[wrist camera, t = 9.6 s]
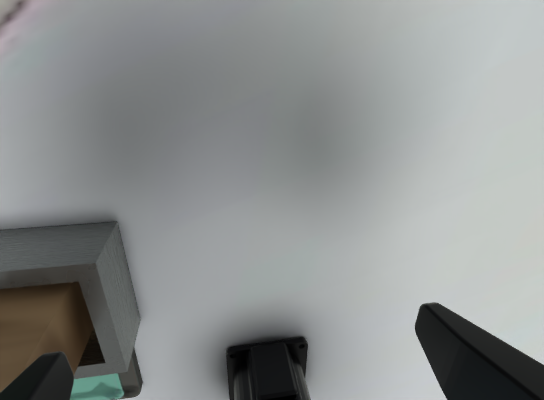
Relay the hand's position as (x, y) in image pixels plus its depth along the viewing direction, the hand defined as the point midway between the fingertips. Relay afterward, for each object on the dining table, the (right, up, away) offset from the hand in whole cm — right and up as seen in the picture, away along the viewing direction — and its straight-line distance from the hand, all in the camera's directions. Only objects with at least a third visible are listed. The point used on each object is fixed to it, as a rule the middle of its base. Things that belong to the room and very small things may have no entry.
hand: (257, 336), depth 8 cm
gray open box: (-13, -2, +12) cm, 18 cm away
